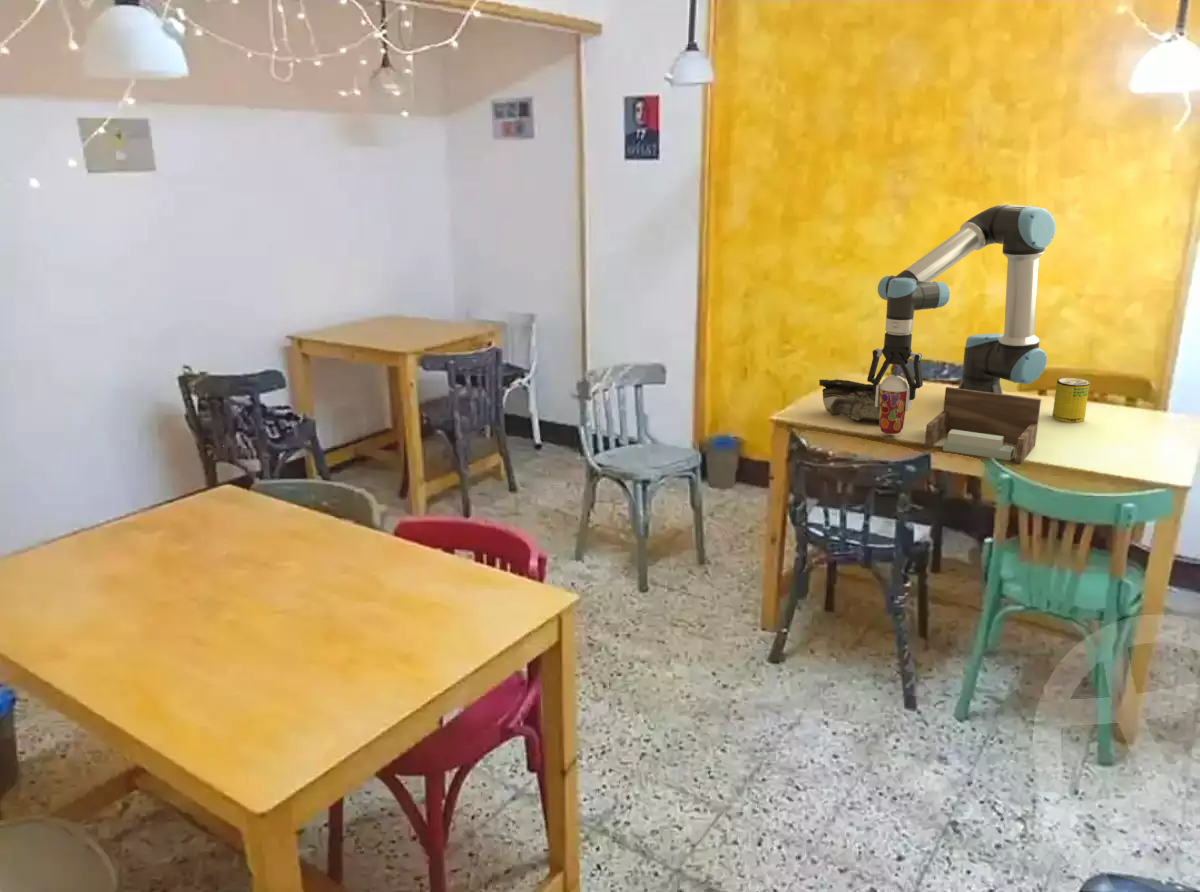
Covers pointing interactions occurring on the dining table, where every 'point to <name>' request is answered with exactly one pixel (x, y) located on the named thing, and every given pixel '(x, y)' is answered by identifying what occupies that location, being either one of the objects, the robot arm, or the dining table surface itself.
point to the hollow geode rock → (849, 398)
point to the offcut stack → (977, 444)
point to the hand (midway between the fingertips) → (892, 407)
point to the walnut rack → (988, 418)
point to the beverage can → (1070, 400)
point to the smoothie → (892, 403)
